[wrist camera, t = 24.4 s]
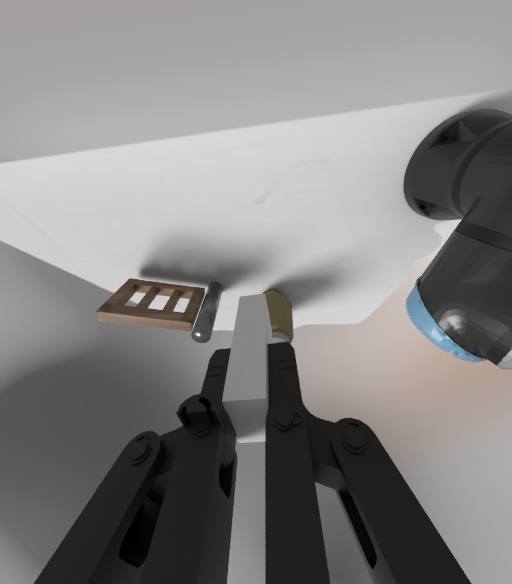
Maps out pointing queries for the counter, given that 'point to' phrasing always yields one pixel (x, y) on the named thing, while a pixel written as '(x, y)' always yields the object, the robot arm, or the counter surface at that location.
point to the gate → (150, 317)
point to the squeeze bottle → (279, 316)
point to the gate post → (207, 313)
